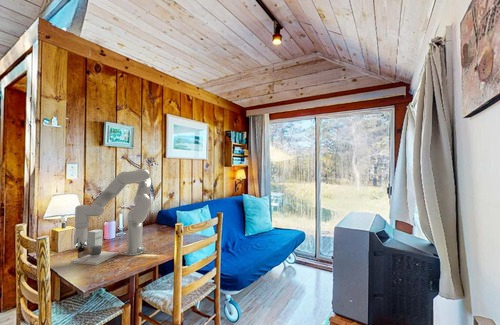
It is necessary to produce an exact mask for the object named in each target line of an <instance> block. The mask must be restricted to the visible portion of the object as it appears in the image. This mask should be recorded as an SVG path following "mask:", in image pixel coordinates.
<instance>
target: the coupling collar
mask: <svg viewBox="0 0 500 325" xmlns="http://www.w3.org/2000/svg"><path fill="white" fill-rule="evenodd" d="M101 251H102V246H92V247H90V249H86V250H85V249H84V251H82V252H80V253H78V252H77V258H82V257H84V256H87V255H98V254H100V253H101Z"/></svg>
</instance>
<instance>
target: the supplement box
mask: <svg viewBox="0 0 500 325" xmlns="http://www.w3.org/2000/svg"><path fill="white" fill-rule="evenodd" d="M103 232H104V230H103V229H93V230H92V229H91V230H88V237H87V240H86V250H88V249H90V247H92V246H101V247H102V246H103V238H104V236H103V235H104V233H103Z"/></svg>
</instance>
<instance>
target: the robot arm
mask: <svg viewBox="0 0 500 325" xmlns="http://www.w3.org/2000/svg"><path fill="white" fill-rule="evenodd" d="M137 183H138V186H137V190H136V192H135V195H134V199H133V203H134V207H133V208H131V209H129V211H128V212H127V243H126V250H125V251H124V255H126V256H137V255H141V254H143V253H144V252H146V251H147V247H144V244H143V230H144V229H143V227H144V226H143V222H144V221H146V219H147V217H148V212H149V210H150V208H151V207H150V206H151V203H152V199H151V197H150V196H149V195H150V192H151V189H152V180H151V173H150V171H149V170H148V169H145V168H138V169H136V170H132V171H121V172H119V173H118V174H117V175H116V176H115V177H114V178H113V180H112V181H111V182H110V183H109V184H108V186H107V187H106V188H105V189H104V190H102V192H101V193H100V194H99V195H98V196H97V197H96V198H95V199H94V201H93V202H91V205H88V204H82V205H81V204H80V205H77V206H75V208H74V236H73V237H74V238H73V245H74V246H75V245H77V254H78V253H80V252H82V251H85V246H86V242H87V237H88V231H89V227H90V217H99V216H101V215H103V214H104V212H105V206H107V205H108V203H109V202H110V201H111V200H112V199H114V198H116V197H117V196H119V194H121V192H122V190H123V189H124V188H125V187H126V186H127V185H132V184H137Z"/></svg>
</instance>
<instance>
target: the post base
mask: <svg viewBox="0 0 500 325" xmlns="http://www.w3.org/2000/svg"><path fill="white" fill-rule="evenodd" d="M117 255H118V252H116V251H105V250H103V251H102V250H101V253H100V254H98V255H87V256H84V257H82V258H78V257H76V258H74V259H71V260H70V261H71V262H70V263H71V264H81V265H82V264H83V265H93V266H97V265H99V264H101V263H103V262H106V261H108V260H109V259H112V258H113V257H116V256H117Z"/></svg>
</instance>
